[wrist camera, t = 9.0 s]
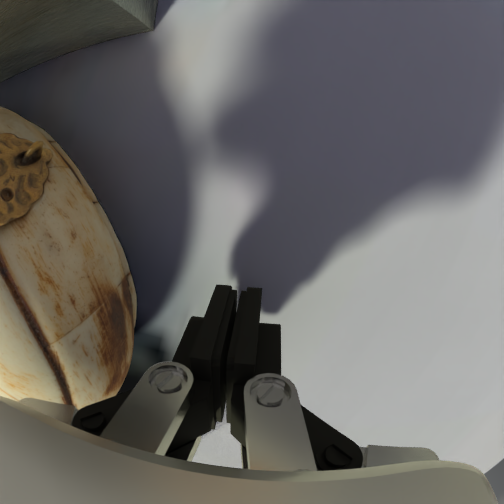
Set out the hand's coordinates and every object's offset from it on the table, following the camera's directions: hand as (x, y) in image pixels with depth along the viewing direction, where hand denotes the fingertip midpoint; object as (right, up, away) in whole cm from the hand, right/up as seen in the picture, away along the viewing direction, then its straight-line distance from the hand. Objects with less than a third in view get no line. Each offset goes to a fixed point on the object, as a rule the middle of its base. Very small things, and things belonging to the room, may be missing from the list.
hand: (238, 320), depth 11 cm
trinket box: (-11, +4, +1) cm, 11 cm away
